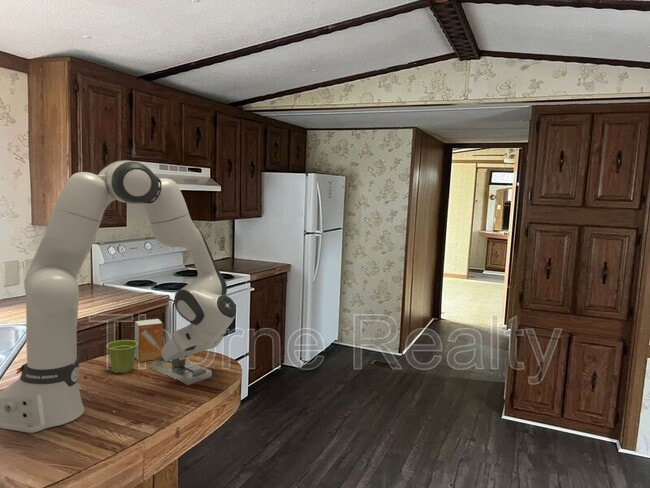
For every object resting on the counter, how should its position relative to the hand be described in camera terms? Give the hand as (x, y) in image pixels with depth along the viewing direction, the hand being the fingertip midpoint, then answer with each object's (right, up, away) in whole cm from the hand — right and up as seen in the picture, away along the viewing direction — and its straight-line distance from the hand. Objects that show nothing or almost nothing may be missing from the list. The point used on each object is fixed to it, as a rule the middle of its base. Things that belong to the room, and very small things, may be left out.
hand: (182, 357), depth 153 cm
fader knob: (-2, -3, +2) cm, 4 cm away
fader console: (-1, -5, +1) cm, 5 cm away
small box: (-16, -4, +13) cm, 21 cm away
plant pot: (-20, -5, +1) cm, 21 cm away
